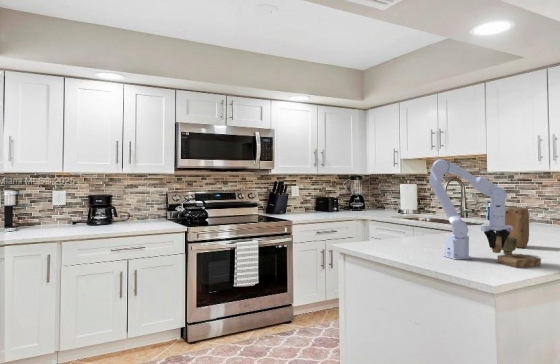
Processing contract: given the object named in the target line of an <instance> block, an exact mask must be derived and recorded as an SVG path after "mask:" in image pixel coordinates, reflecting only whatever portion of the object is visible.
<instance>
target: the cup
mask: <svg viewBox="0 0 560 364" xmlns="http://www.w3.org/2000/svg"><path fill="white" fill-rule="evenodd" d="M517 239H518V238H516V237H515V238H514V237H512V239H511V237H510V236H509V237H507V239H506V241H505V244H504V247H503V248H502V250H501V251H503V252H502V253H503V255H513V252H514V251H515V250H516V248H517V247H516V245H517Z"/></svg>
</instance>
